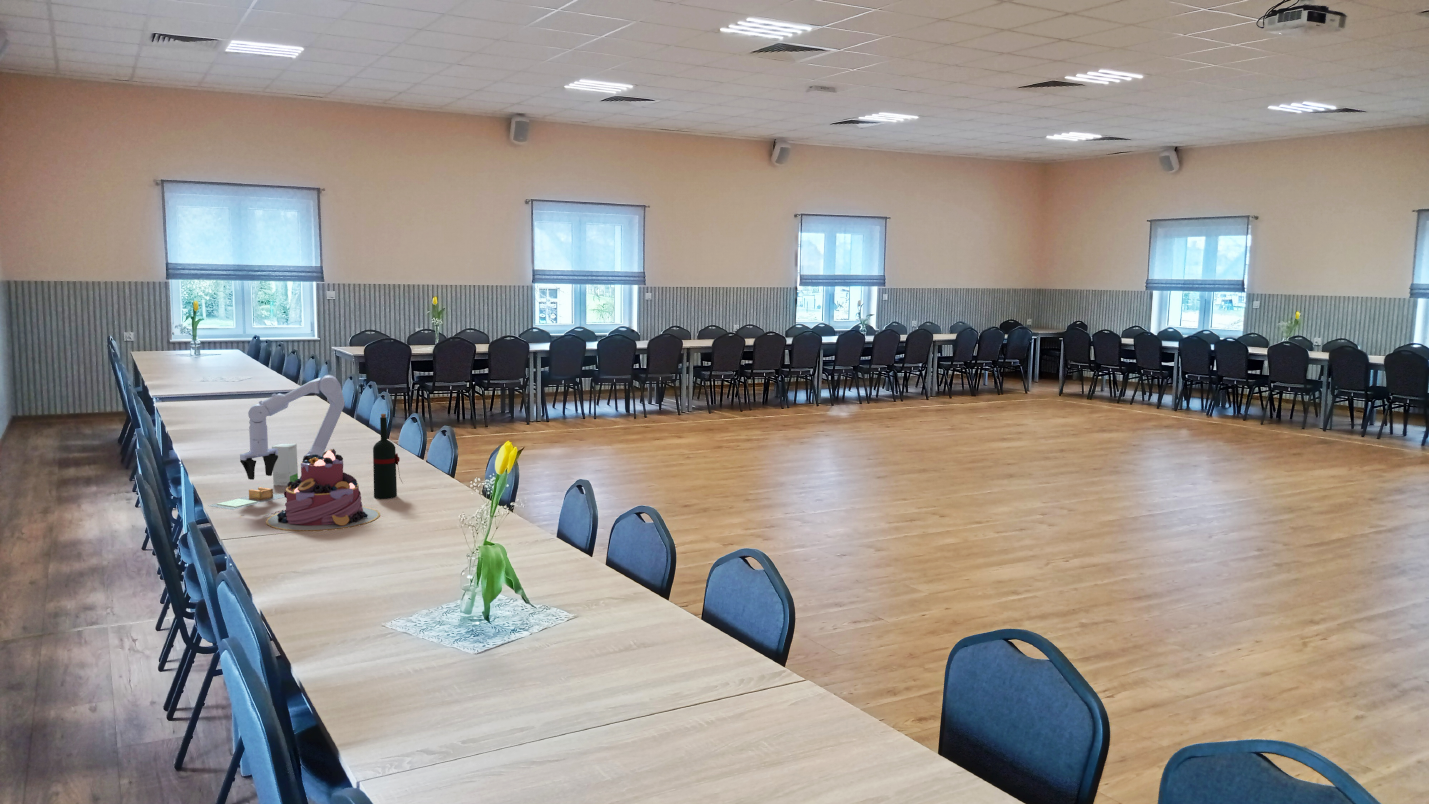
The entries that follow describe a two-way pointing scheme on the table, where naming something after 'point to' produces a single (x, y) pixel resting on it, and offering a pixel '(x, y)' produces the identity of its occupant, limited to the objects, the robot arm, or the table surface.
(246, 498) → the peg board
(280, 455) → the skincare box
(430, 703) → the table surface
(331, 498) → the wedding cake
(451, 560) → the table surface
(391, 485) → the wine bottle
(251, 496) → the c link
